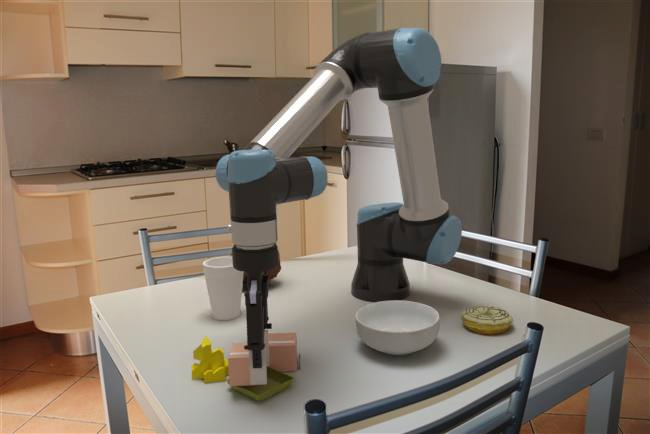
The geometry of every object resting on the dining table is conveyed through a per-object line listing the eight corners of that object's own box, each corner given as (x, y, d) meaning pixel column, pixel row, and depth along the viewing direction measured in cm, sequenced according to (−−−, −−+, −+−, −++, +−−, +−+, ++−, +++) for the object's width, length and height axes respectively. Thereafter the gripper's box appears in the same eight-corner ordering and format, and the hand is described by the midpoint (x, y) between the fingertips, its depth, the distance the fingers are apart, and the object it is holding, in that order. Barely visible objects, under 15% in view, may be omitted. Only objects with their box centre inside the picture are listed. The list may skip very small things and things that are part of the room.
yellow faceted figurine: (237, 379, 103) (235, 339, 101) (192, 385, 101) (189, 344, 99) (235, 365, 108) (233, 326, 107) (192, 370, 107) (189, 331, 105)
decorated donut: (520, 326, 124) (521, 309, 124) (498, 341, 117) (498, 324, 116) (476, 315, 131) (477, 299, 131) (452, 328, 124) (453, 312, 123)
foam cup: (238, 323, 129) (235, 268, 126) (199, 321, 131) (196, 266, 128) (251, 309, 138) (249, 257, 135) (215, 307, 140) (212, 255, 137)
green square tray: (225, 391, 99) (225, 380, 99) (263, 373, 105) (263, 363, 105) (258, 408, 93) (258, 396, 93) (296, 388, 100) (296, 377, 99)
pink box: (262, 368, 102) (260, 341, 101) (259, 384, 96) (258, 356, 95) (234, 369, 102) (232, 342, 101) (229, 386, 96) (227, 357, 95)
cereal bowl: (354, 331, 123) (354, 299, 122) (432, 330, 123) (432, 299, 121) (356, 366, 107) (356, 330, 105) (446, 366, 106) (446, 330, 105)
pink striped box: (300, 356, 111) (299, 331, 110) (299, 370, 105) (299, 344, 104) (250, 358, 111) (249, 333, 110) (247, 372, 105) (246, 346, 104)
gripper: (238, 232, 104) (244, 351, 108) (223, 259, 85) (231, 402, 89) (280, 231, 104) (284, 350, 108) (274, 258, 85) (279, 401, 89)
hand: (260, 374), depth 99 cm, fingers closed on pink box, 6 cm apart
